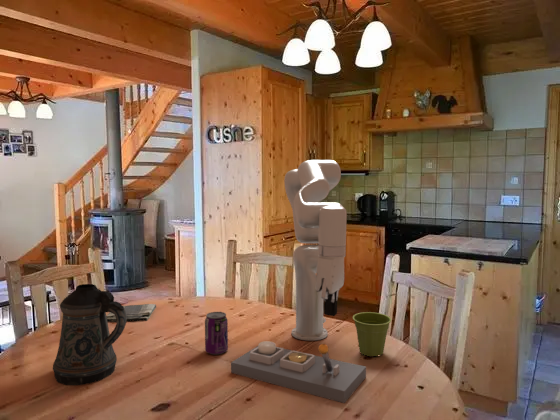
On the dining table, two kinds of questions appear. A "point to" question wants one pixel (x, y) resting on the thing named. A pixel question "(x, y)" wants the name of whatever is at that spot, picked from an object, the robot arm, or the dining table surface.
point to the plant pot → (371, 332)
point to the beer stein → (87, 336)
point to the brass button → (298, 357)
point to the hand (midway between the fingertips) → (330, 314)
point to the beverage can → (216, 333)
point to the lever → (325, 356)
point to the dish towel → (135, 313)
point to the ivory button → (266, 347)
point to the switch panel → (301, 373)
